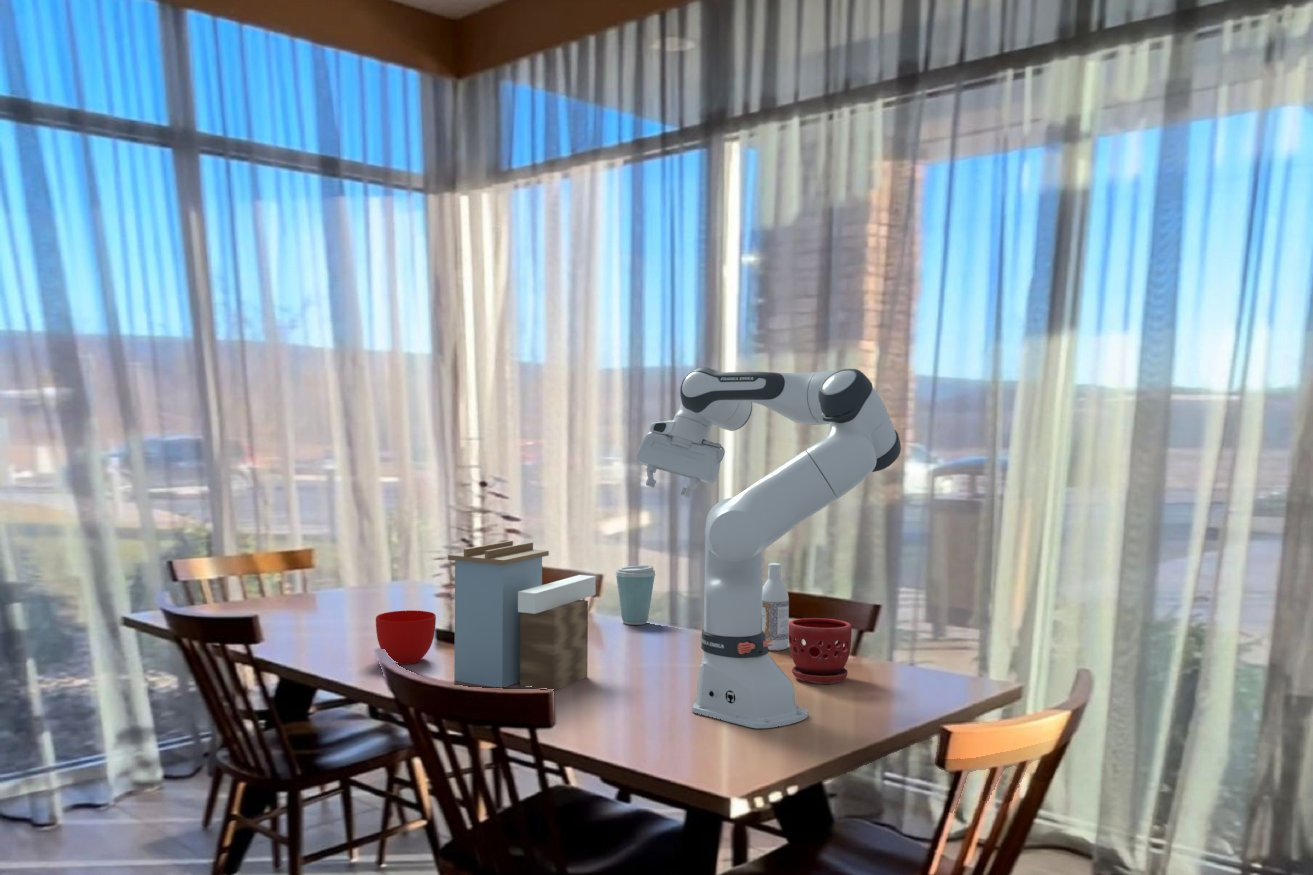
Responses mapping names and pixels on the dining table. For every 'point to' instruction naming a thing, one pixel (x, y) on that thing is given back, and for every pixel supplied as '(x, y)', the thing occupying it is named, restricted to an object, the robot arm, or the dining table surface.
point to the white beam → (556, 594)
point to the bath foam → (775, 609)
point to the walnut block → (554, 646)
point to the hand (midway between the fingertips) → (666, 491)
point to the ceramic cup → (406, 634)
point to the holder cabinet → (491, 610)
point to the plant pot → (820, 649)
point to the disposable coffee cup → (635, 593)
